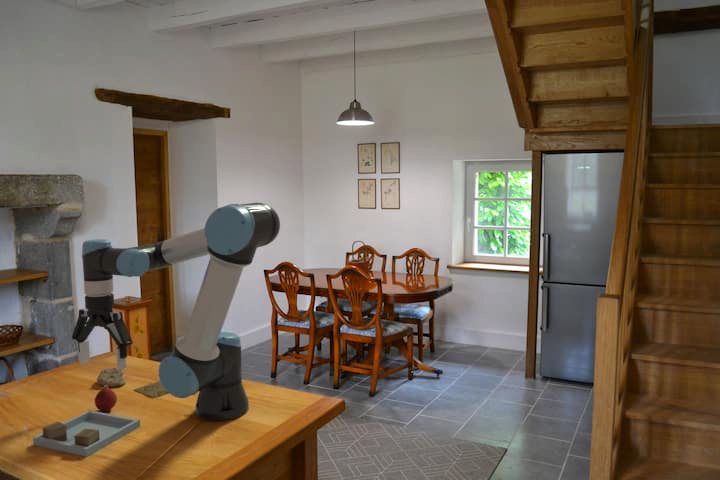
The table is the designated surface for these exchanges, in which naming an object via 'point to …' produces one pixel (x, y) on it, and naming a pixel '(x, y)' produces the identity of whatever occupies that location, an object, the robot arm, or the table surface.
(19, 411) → the table surface
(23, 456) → the table surface
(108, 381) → the rock
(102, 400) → the onion
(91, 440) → the walnut cube
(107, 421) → the dish
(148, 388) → the speckled stone tile
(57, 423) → the walnut cube
